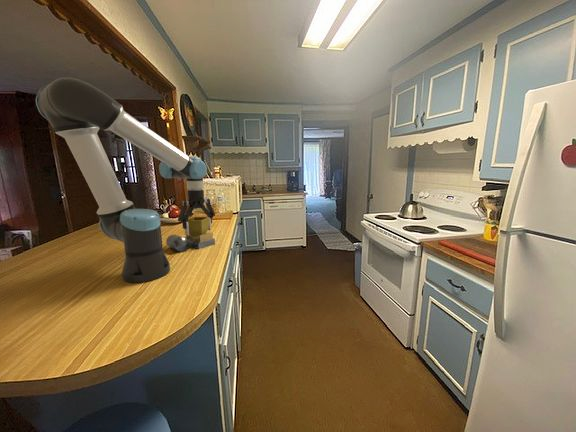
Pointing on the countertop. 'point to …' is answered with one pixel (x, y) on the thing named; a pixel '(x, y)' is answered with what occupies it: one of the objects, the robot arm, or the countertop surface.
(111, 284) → the countertop surface
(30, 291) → the countertop surface
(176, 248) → the motor block
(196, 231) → the flower pot
